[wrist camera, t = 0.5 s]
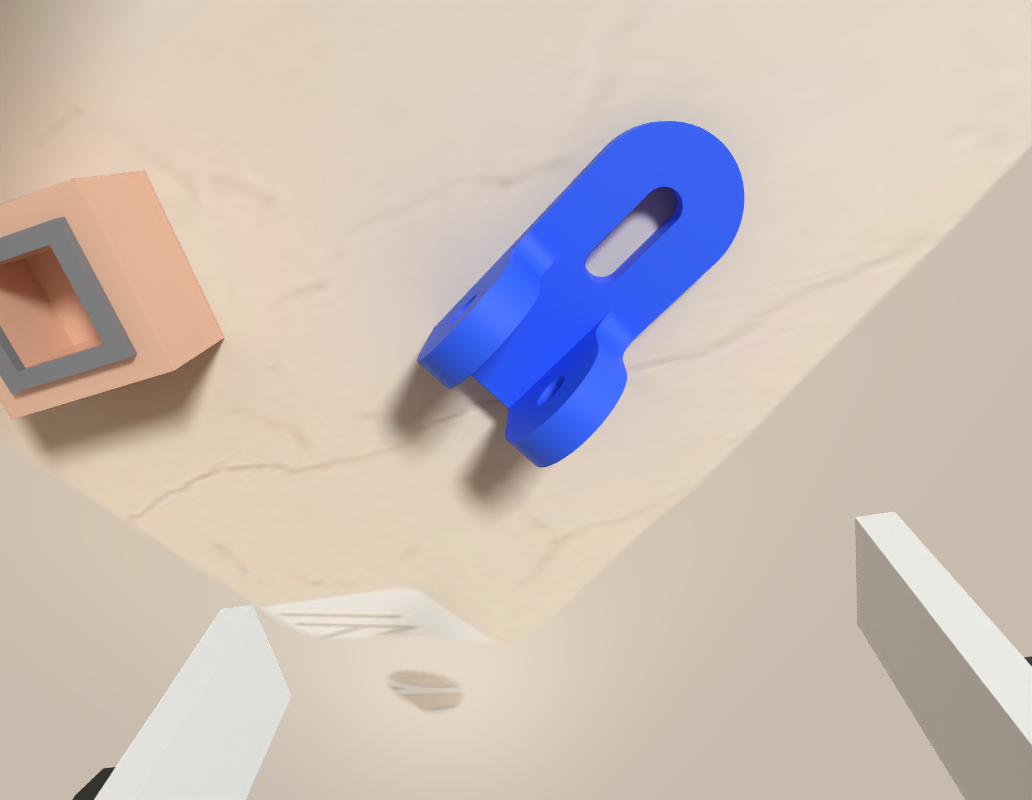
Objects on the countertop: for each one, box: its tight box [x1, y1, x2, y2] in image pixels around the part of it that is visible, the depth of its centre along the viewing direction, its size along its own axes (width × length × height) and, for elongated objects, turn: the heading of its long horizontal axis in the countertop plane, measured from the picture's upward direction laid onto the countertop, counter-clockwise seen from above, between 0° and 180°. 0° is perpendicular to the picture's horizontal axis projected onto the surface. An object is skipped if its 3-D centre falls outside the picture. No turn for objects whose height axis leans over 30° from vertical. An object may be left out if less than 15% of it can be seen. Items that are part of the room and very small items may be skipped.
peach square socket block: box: [0, 171, 224, 419], centre depth 37 cm, size 10×10×7 cm
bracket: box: [417, 121, 744, 467], centre depth 35 cm, size 18×8×9 cm, turn 136°
